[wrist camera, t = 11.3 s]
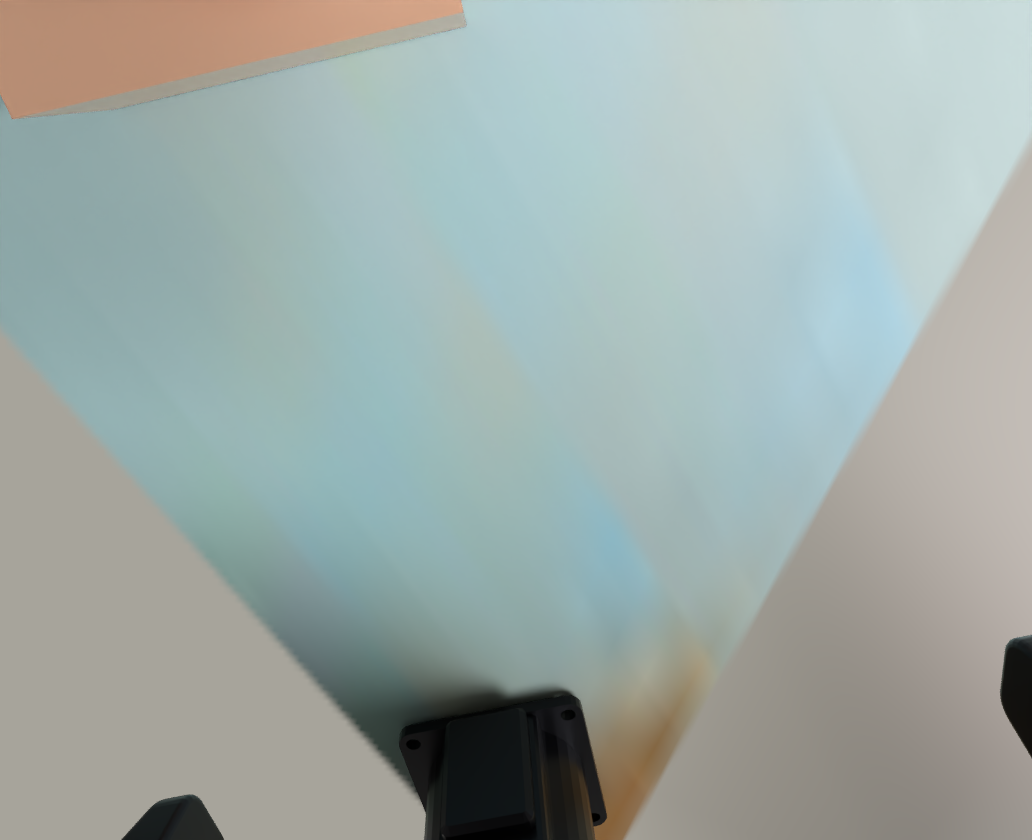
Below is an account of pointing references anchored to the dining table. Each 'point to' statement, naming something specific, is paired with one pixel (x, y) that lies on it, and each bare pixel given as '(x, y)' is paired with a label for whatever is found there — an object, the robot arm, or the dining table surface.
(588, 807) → the robot arm
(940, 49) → the dining table surface
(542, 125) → the dining table surface
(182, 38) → the peach block
